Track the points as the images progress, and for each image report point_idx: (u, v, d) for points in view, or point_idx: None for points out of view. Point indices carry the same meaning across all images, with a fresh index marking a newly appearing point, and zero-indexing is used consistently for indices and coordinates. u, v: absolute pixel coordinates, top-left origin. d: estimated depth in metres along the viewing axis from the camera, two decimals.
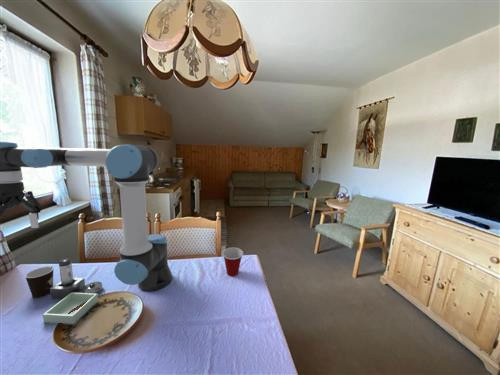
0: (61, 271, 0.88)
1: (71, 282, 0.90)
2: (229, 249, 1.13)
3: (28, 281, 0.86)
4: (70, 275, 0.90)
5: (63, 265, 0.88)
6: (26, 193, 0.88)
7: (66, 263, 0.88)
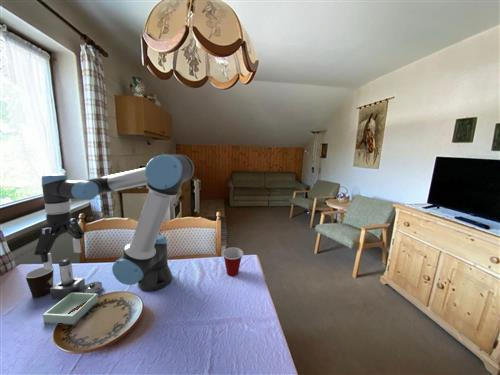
0: (61, 271, 0.88)
1: (71, 282, 0.90)
2: (229, 249, 1.13)
3: (28, 281, 0.86)
4: (70, 275, 0.90)
5: (63, 265, 0.88)
6: (71, 221, 0.92)
7: (66, 263, 0.88)
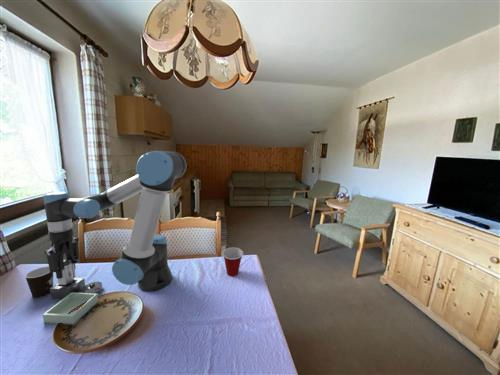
0: None
1: (71, 282, 0.90)
2: (229, 249, 1.13)
3: (28, 281, 0.86)
4: (70, 275, 0.90)
5: (63, 265, 0.88)
6: (73, 239, 0.93)
7: (66, 263, 0.88)
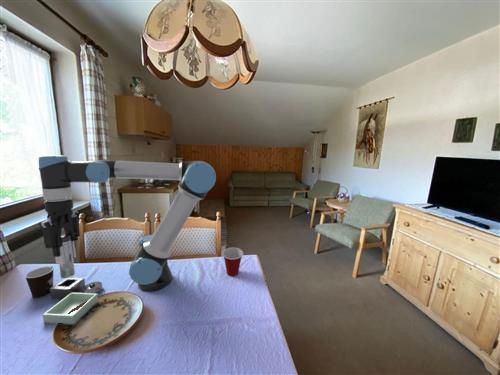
0: None
1: (70, 262, 0.78)
2: (229, 249, 1.13)
3: (28, 281, 0.86)
4: (69, 254, 0.77)
5: (61, 241, 0.75)
6: (73, 213, 0.80)
7: (65, 239, 0.76)
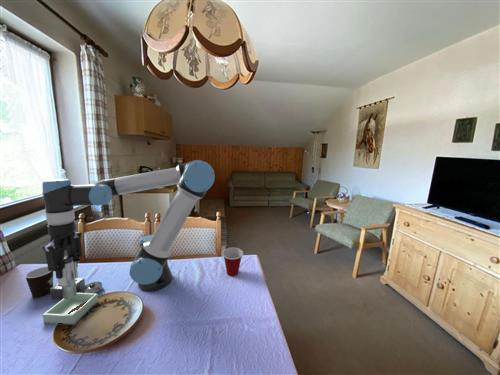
0: None
1: (72, 283, 0.79)
2: (229, 249, 1.13)
3: (28, 281, 0.86)
4: (71, 275, 0.78)
5: (64, 263, 0.76)
6: (76, 234, 0.81)
7: (67, 261, 0.77)
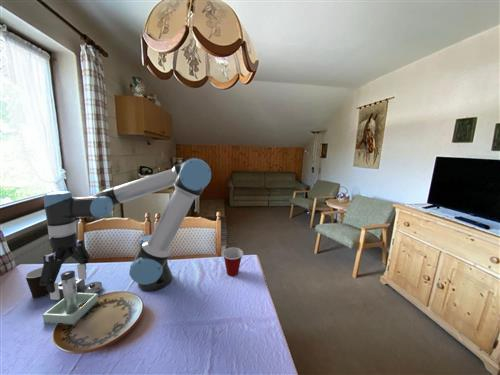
0: (64, 286, 0.78)
1: (75, 297, 0.80)
2: (229, 249, 1.13)
3: (28, 281, 0.86)
4: (73, 290, 0.80)
5: (66, 279, 0.78)
6: (77, 242, 0.82)
7: (69, 276, 0.78)
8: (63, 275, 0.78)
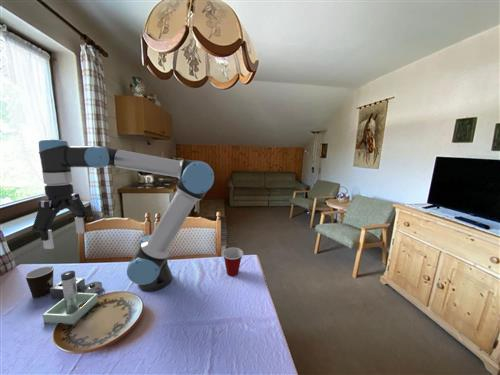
0: (64, 286, 0.78)
1: (75, 298, 0.80)
2: (229, 249, 1.13)
3: (28, 281, 0.86)
4: (73, 290, 0.80)
5: (66, 279, 0.77)
6: (73, 196, 0.81)
7: (69, 277, 0.78)
8: (63, 275, 0.78)
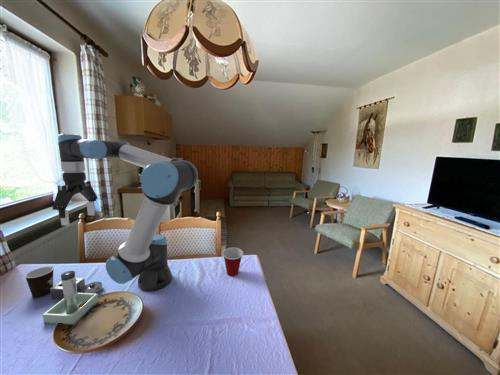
0: (64, 286, 0.78)
1: (75, 298, 0.80)
2: (229, 249, 1.13)
3: (28, 281, 0.86)
4: (73, 290, 0.80)
5: (66, 279, 0.77)
6: (86, 183, 0.95)
7: (69, 277, 0.78)
8: (63, 275, 0.78)
